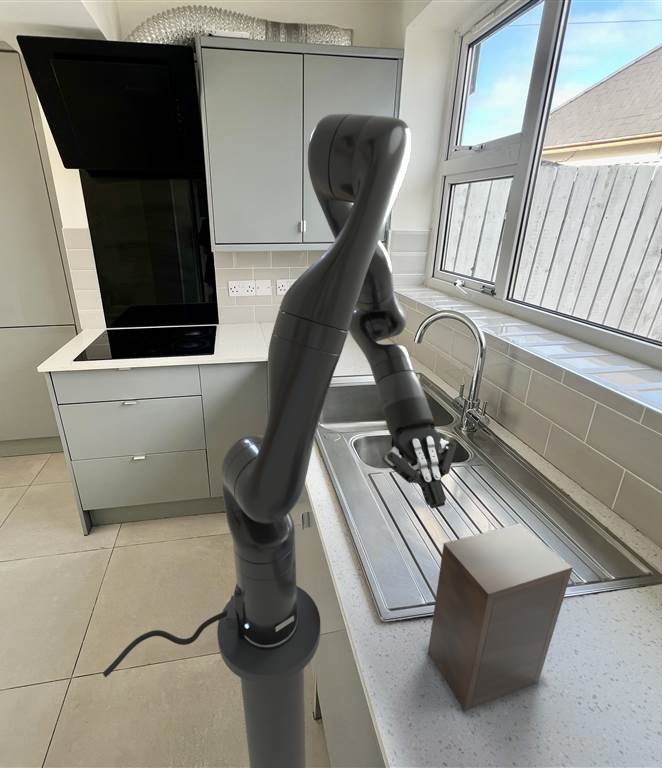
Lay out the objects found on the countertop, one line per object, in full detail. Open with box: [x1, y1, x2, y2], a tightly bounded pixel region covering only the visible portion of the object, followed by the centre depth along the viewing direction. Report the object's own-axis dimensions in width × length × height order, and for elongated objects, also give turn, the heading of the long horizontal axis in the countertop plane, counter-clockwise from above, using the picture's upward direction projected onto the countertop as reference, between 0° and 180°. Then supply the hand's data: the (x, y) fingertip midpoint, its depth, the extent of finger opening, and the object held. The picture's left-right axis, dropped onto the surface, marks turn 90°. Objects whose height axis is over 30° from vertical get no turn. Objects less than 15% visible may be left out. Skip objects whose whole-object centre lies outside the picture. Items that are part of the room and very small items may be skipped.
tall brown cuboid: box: [427, 522, 573, 712], centre depth 53 cm, size 8×12×20 cm
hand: (438, 506), depth 62 cm, fingers closed
